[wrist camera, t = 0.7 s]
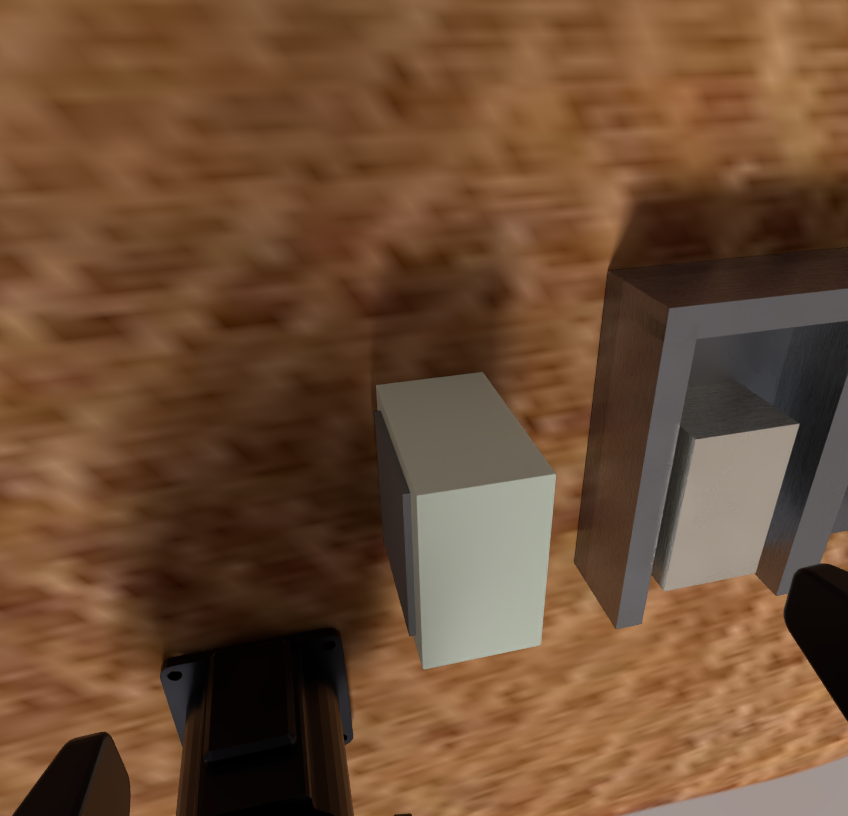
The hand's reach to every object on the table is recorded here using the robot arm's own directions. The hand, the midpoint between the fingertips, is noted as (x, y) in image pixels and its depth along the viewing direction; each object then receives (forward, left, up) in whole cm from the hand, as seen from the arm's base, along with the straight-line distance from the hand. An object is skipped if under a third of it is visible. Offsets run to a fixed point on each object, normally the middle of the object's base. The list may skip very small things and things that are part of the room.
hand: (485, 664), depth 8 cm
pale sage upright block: (-5, -2, -13) cm, 14 cm away
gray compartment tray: (-5, -15, -13) cm, 21 cm away
